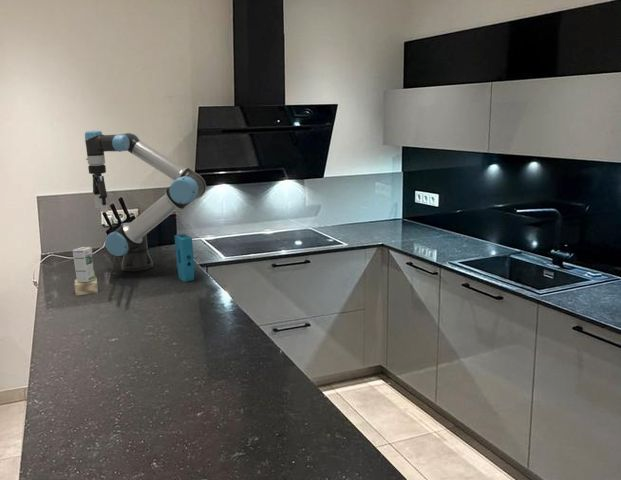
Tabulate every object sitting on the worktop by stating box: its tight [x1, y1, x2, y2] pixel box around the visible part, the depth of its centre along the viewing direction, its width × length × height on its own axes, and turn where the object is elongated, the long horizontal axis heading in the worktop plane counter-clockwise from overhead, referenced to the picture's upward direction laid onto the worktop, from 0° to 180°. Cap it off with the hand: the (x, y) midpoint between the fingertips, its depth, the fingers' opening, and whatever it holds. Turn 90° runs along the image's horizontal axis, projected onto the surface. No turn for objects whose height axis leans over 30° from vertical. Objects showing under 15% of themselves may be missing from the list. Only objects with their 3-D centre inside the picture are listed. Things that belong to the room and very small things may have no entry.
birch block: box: [74, 277, 99, 297], centre depth 253 cm, size 9×9×5 cm
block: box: [174, 233, 195, 283], centre depth 266 cm, size 12×5×20 cm, turn 30°
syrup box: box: [72, 246, 96, 282], centre depth 251 cm, size 6×6×14 cm
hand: (101, 210), depth 272 cm, fingers open, 13 cm apart
